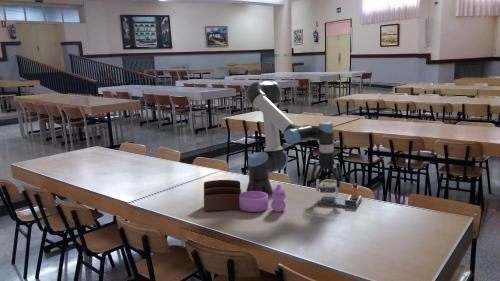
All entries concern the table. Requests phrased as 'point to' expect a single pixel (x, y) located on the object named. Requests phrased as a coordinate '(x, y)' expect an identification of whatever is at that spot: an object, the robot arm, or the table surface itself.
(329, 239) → the table surface
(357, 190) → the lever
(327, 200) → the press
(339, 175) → the robot arm
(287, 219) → the table surface
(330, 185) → the electrical switch
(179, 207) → the table surface
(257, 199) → the container set
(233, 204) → the letter holder
